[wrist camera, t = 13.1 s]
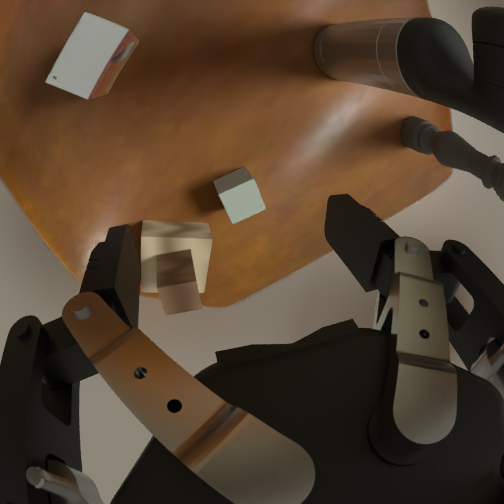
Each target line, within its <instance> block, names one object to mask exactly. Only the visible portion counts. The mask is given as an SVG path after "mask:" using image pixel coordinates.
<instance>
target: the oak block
mask: <svg viewBox="0 0 504 504" xmlns="http://www.w3.org/2000/svg"><path fill="white" fill-rule="evenodd" d="M212 240H213V239H212V235H211V232H210V228H209V225H208V223H194V222H173V221H149V220H143V224H142V234H141V290H142V292H158V290H157V272H156V255H160V254H165V253H171V252H176V251H182V250H187V249H191V253H192V259H193V264H194V269H195V275H196V280H197V285H198V290H199V293H204V290H205V283H206V277H207V271H208V264H209V258H210V252H211V246H212Z"/></svg>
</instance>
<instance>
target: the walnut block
mask: <svg viewBox="0 0 504 504" xmlns="http://www.w3.org/2000/svg"><path fill="white" fill-rule="evenodd" d="M156 272H157V290H158V293H159V296H160V299H161V302H162V305H163V308H164V311H165V314H166V315H171V314H176V313H182V312H187V311H193V310H198V309H202V306H201V301H200V296H199V290H198V285H197V280H196V275H195V269H194V264H193V259H192V253H191V249H187V250H182V251H176V252H171V253H165V254H160V255H156Z"/></svg>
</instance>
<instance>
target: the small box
mask: <svg viewBox="0 0 504 504" xmlns="http://www.w3.org/2000/svg"><path fill="white" fill-rule="evenodd" d="M138 44H139V41H138V39H137V38H136V37H135V36H134V35H133V34H132V32H131V31H130V30H129V29H127V28H125V27H122V26H120V25H118V24H116V23H113V22H111V21H108V20H106V19H103V18H101V17H98V16H95V15H93V14H90V13H87V12H85V13H84V14H83V15H82V17H81V19H80V20H79V22H78V24H77V25H76V27H75V29H74V30H73V32H72V34H71V35H70V37H69V39H68V41H67V42H66V44H65V46H64V48H63V49H62V51H61V53H60V55H59V57H58V59H57V60H56V62H55V64H54V66H53V68H52V70H51V72H50V73H49V75H48V77H47V79H46V81H45V82H46V83H48V84H50V85H53V86H55V87H58V88H60V89H63V90H65V91H68V92H70V93H73V94H75V95H77V96H80V97H82V98H84V99H87V100H88V99H92V98H95V97H99V96H102V95H106V94H108V93H109V92H110V90H111V88H112V86H113V84H114V82H115V80H116V78H117V77H118V75H119V73H120V72H121V70H122V68H123V67H124V65H125V64H126V62H127V60H128V59H129V57H130V56H131V54H132V53H133V51H134V50H135V48H136V47H137V45H138Z"/></svg>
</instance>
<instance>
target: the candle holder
mask: <svg viewBox="0 0 504 504" xmlns="http://www.w3.org/2000/svg"><path fill="white" fill-rule="evenodd" d="M401 138H402V141H403V143H404V144H405V145H406V146H407V147H409V148H411V149H413V150H415V151H417V152H420V153H424V154H427V155H430V154H434V155H435V157H436V159H437V160H438V161H439V162H440V163H441V164H442V165H444V166H447V167H451V168H456V169H460V170H463V171H467V172H470V173H471V174H473V175H475V176H476V177H478V178H480V179H481V180H482V183H483V185H484V187H486V188H488V189H490V188H492V187H493V188H494V190H495V191H496V193H497V195H498V196H499V197H500V199H501V200H502V201H504V163H501V161H500V158H498V157H497V156H495V155H494V156H490V157H488V156H487V155H485V154H483V153H481V152H479V151H477V150H476V149H475V148H474V147H472V146H471V145H470V144H469V143H467V142H466V141H465V140H464V139H463V138H462V137H460V136H459V135H458V134H456V133H455V132H452V131H443V132H441V131H439V129H438V128H437V127H436V126H435V125H433V124H431V123H430V122H428V121H426V120H423V119H421V118H418V117H415V116H412V117H409V118H408V119H406V120H405V122H404V123H403V125H402V129H401Z"/></svg>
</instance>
